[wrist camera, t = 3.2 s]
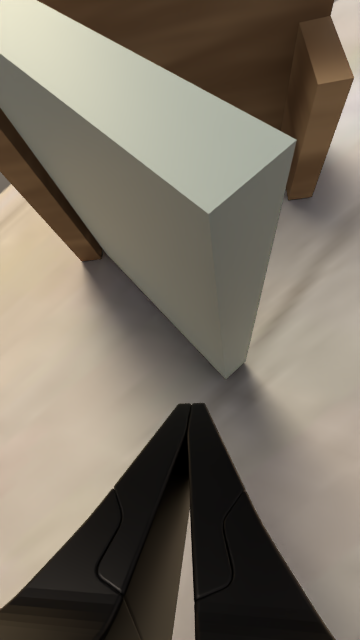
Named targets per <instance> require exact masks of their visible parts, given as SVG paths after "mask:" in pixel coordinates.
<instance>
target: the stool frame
mask: <svg viewBox="0 0 360 640" xmlns="http://www.w3.org/2000/svg"><path fill="white" fill-rule="evenodd" d="M37 1H39V2H41V3H43V4H45V5H46V6H48V7H50V8H52V9H54V10H56V11H58V12H59V13H61V14H63V15H65V16H67V17H69V18H71V19H72V20H74V21H76V22H78V23H80V24H82V25H84V26H85V27H87V28H89V29H91V30H93V31H95V32H97V33H99V34H100V35H102V36H104V37H106V38H108V39H110V40H112V41H113V42H115V43H117V44H119V45H121V46H123V47H125V48H126V49H128V50H130V51H132V52H134V53H136V54H138V55H140V56H141V57H143V58H145V59H147V60H149V61H151V62H153V63H154V64H156V65H158V66H160V67H162V68H164V69H166V70H167V71H169V72H171V73H173V74H175V75H177V76H179V77H180V78H182V79H184V80H186V81H188V82H190V83H192V84H194V85H195V86H197V87H199V88H201V89H203V90H205V91H207V92H208V93H210V94H212V95H214V96H216V97H218V98H220V99H221V100H223V101H225V102H227V103H229V104H231V105H233V106H235V107H236V108H238V109H240V110H242V111H244V112H246V113H248V114H249V115H251V116H253V117H255V118H257V119H259V120H261V121H262V122H264V123H266V124H268V125H270V126H272V127H274V128H276V129H277V130H279V131H281V132H283V133H285V134H287V135H289V136H290V137H292V138H294V139H296V140H297V141H296V145H295V150H294V154H293V158H292V163H291V167H290V171H289V176H288V180H287V184H286V190H287V195H288V200H293V199H300V198H308V197H312V195H313V192H314V189H315V186H316V184H317V181H318V178H319V175H320V172H321V169H322V167H323V164H324V161H325V158H326V155H327V153H328V150H329V147H330V144H331V141H332V138H333V136H334V133H335V130H336V127H337V124H338V122H339V119H340V116H341V113H342V110H343V107H344V105H345V102H346V99H347V96H348V93H349V91H350V88H351V85H352V82H353V79H354V76H353V74H352V71H351V68H350V66H349V63H348V61H347V58H346V55H345V53H344V50H343V47H342V45H341V42H340V40H339V37H338V34H337V32H336V29H335V26H334V24H333V21H332V19H331V16H330V15H331V11H332V7H333V3H334V0H37ZM0 172H1V173H2V174H3V175H4V176H5V177H6V178H7V180H8V181H9V182H10V183H11V184H12V185H13V186H14V187H15V188H16V190H17V191H18V192H19V193H20V194H21V195H22V196H23V197H24V198H25V199H26V201H27V202H28V203H29V204H30V205H31V206H32V207H33V208H34V209H35V210H36V212H37V213H38V214H39V215H40V216H41V217H42V218H43V219H44V220H45V221H46V223H47V224H48V225H49V226H50V227H51V228H52V229H53V230H54V231H55V232H56V234H57V235H58V236H59V237H60V238H61V239H62V240H63V241H64V242H65V243H66V245H67V246H68V247H69V248H70V249H71V250H72V251H73V252H74V253H75V255H76V256H77V257H78V258H79V259H80V260H81V261H88V260H97V259H101V256H102V247H101V246H100V245H99V243H98V242H97V240H96V239H95V238H94V236H93V235H92V234H91V232H90V231H89V229H88V228H87V227H86V225H85V224H84V223H83V221H82V220H81V218H80V217H79V216H78V214H77V213H76V211H75V210H74V209H73V207H72V206H71V205H70V203H69V202H68V200H67V199H66V198H65V196H64V195H63V194H62V192H61V191H60V189H59V188H58V187H57V185H56V184H55V183H54V181H53V180H52V178H51V177H50V176H49V174H48V173H47V171H46V170H45V169H44V167H43V166H42V165H41V163H40V162H39V160H38V159H37V158H36V156H35V155H34V154H33V152H32V151H31V149H30V148H29V147H28V145H27V144H26V143H25V141H24V140H23V138H22V137H21V136H20V134H19V133H18V132H17V130H16V129H15V127H14V126H13V125H12V123H11V122H10V120H9V119H8V118H7V116H6V115H5V114H4V112H3V111H2V109H1V108H0Z"/></svg>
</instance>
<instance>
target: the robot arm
mask: <svg viewBox="0 0 360 640" xmlns="http://www.w3.org/2000/svg"><path fill="white" fill-rule="evenodd" d="M189 510H190V517H191V540H192V564H193V587H194V602H195V605H194V610H195V640H335V638H334V637H333V635H332V634H331V633H330V631H329V630H328V628H327V627H326V625H325V624H324V622H323V621H322V619H321V618H320V616H319V615H318V613H317V612H316V610H315V609H314V607H313V605H312V604H311V602H310V601H309V599H308V597H307V596H306V594H305V593H304V591H303V589H302V588H301V586H300V585H299V583H298V581H297V580H296V578H295V577H294V575H293V573H292V572H291V570H290V569H289V567H288V565H287V564H286V562H285V561H284V559H283V557H282V556H281V554H280V553H279V551H278V549H277V548H276V546H275V544H274V543H273V541H272V539H271V538H270V536H269V534H268V532H267V531H266V529H265V527H264V526H263V524H262V522H261V520H260V518H259V516H258V514H257V512H256V510H255V508H254V506H253V504H252V502H251V500H250V498H249V496H248V494H247V492H246V491H245V488H244V485H243V483H242V481H241V479H240V477H239V475H238V473H237V471H236V468H235V466H234V464H233V462H232V460H231V458H230V456H229V454H228V452H227V449H226V447H225V445H224V443H223V441H222V439H221V437H220V435H219V432H218V430H217V428H216V426H215V424H214V422H213V420H212V418H211V415H210V413H209V411H208V409H207V407H206V405H205V404H204V403H193V404H192V405H191V404H190V403H185V404H178V405H177V406H176V408H175V409H174V410H173V412H172V413H171V414H170V415H169V417H168V418H167V419H166V421H165V422H164V423H163V424H162V426H161V427H160V428H159V429H158V431H157V432H156V433H155V435H154V436H153V437H152V438H151V440H150V441H149V442H148V444H147V445H146V446H145V447H144V449H143V450H142V451H141V453H140V454H139V455H138V456H137V458H136V459H135V460H134V461H133V463H132V464H131V465H130V467H129V468H128V469H127V470H126V472H125V473H124V474H123V476H122V477H121V478H120V479H119V481H118V482H117V483H116V484H115V486H114V489H111V491H110V492H109V493H108V495H107V496H106V497H105V498H104V500H103V501H102V502H101V503H100V505H99V506H98V507H97V508H96V509H95V511H94V512H93V513H92V514H91V515H90V517H89V518H88V519H87V520H86V521H85V522H84V523H83V525H82V526H81V527H80V528H79V529H78V530H77V531H76V532H75V533H74V535H73V536H72V537H71V538H70V539H69V540H68V541H67V542H66V543H65V544H64V545H63V546H62V548H61V549H60V550H59V551H58V552H57V553H56V554H55V555H54V556H53V557H52V558H51V559H50V560H49V561H48V562H47V564H46V565H45V566H44V567H43V568H42V569H41V570H40V571H39V572H38V573H37V574H36V575H35V576H34V577H33V578H32V580H31V581H30V582H29V583H28V584H27V585H26V586H25V587H24V588H23V589H22V590H21V591H20V592H19V593H18V594H17V595H16V596H15V597H14V598H13V599H12V600H11V601H9V602H8V603H7V604H6V605H5V606H4V607H2V608H1V609H0V640H172V634H173V627H174V619H175V612H176V605H177V597H178V590H179V583H180V576H181V568H182V561H183V554H184V546H185V539H186V532H187V524H188V517H189Z"/></svg>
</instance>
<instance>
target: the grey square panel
mask: <svg viewBox="0 0 360 640" xmlns="http://www.w3.org/2000/svg"><path fill="white" fill-rule="evenodd" d="M0 108H1V109H2V111H3V112H4V114H5V115H6V116H7V118H8V119H9V120H10V122H11V123H12V125H13V126H14V127H15V129H16V130H17V132H18V133H19V134H20V136H21V137H22V138H23V140H24V141H25V143H26V144H27V145H28V147H29V148H30V149H31V151H32V152H33V154H34V155H35V156H36V158H37V159H38V160H39V162H40V163H41V165H42V166H43V167H44V169H45V170H46V171H47V173H48V174H49V176H50V177H51V178H52V180H53V181H54V183H55V184H56V185H57V187H58V188H59V189H60V191H61V192H62V194H63V195H64V196H65V198H66V199H67V200H68V202H69V203H70V205H71V206H72V207H73V209H74V210H75V211H76V213H77V214H78V216H79V217H80V218H81V220H82V221H83V223H84V224H85V225H86V227H87V228H88V229H89V231H90V232H91V234H92V235H93V236H94V238H95V239H96V240H97V242H98V243H99V245H100V246H101V247H102V249H103V250H104V251H105V253H106V254H107V255H108V256H109V257H110V258H111V259H112V260H113V261H114V262H115V263H116V264H117V265H118V267H119V268H120V269H121V270H122V271H123V272H124V273H125V274H126V275H127V276H128V277H129V278H130V279H131V280H132V281H133V282H134V283H135V284H136V285H137V287H138V288H139V289H140V290H141V291H142V292H143V293H144V294H145V295H146V296H147V297H148V298H149V299H150V300H151V301H152V302H153V303H154V304H155V305H156V307H157V308H158V309H159V310H160V311H161V312H162V313H163V314H164V315H165V316H166V317H167V318H168V319H169V320H170V321H171V322H172V323H173V324H174V326H175V327H176V328H177V329H178V330H179V331H180V332H181V333H182V334H183V335H184V336H185V337H186V338H187V339H188V340H189V341H190V342H191V343H192V344H193V346H194V347H195V348H196V349H197V350H198V351H199V352H200V353H201V354H202V355H203V356H204V357H205V358H206V359H207V360H208V361H209V362H210V363H211V364H212V366H213V367H214V368H215V369H216V370H217V371H218V372H219V373H220V374H221V375H222V376H223V377H224V378H225V379H227V378H228V377H229V376H230V375H231V374H232V373H233V372H235V371H236V370H237V369H238V368H239V367H240V366H241V365H242V364H243V363H244V362H245V361H246V357H247V353H248V348H249V344H250V340H251V335H252V331H253V327H254V323H255V318H256V314H257V310H258V305H259V301H260V297H261V292H262V288H263V284H264V279H265V275H266V271H267V266H268V262H269V258H270V253H271V249H272V245H273V240H274V236H275V232H276V228H277V223H278V219H279V215H280V210H281V206H282V202H283V197H284V193H285V189H286V184H287V180H288V176H289V171H290V167H291V163H292V158H293V154H294V150H295V145H296V141H297V140H296V139H294V138H292V137H290V136H289V135H287V134H285V133H283V132H281V131H279V130H277V129H276V128H274V127H272V126H270V125H268V124H266V123H264V122H262V121H261V120H259V119H257V118H255V117H253V116H251V115H249V114H248V113H246V112H244V111H242V110H240V109H238V108H236V107H235V106H233V105H231V104H229V103H227V102H225V101H223V100H221V99H220V98H218V97H216V96H214V95H212V94H210V93H208V92H207V91H205V90H203V89H201V88H199V87H197V86H195V85H194V84H192V83H190V82H188V81H186V80H184V79H182V78H180V77H179V76H177V75H175V74H173V73H171V72H169V71H167V70H166V69H164V68H162V67H160V66H158V65H156V64H154V63H153V62H151V61H149V60H147V59H145V58H143V57H141V56H140V55H138V54H136V53H134V52H132V51H130V50H128V49H126V48H125V47H123V46H121V45H119V44H117V43H115V42H113V41H112V40H110V39H108V38H106V37H104V36H102V35H100V34H99V33H97V32H95V31H93V30H91V29H89V28H87V27H85V26H84V25H82V24H80V23H78V22H76V21H74V20H72V19H71V18H69V17H67V16H65V15H63V14H61V13H59V12H58V11H56V10H54V9H52V8H50V7H48V6H46V5H45V4H43V3H41V2H39V1H37V0H0Z"/></svg>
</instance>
